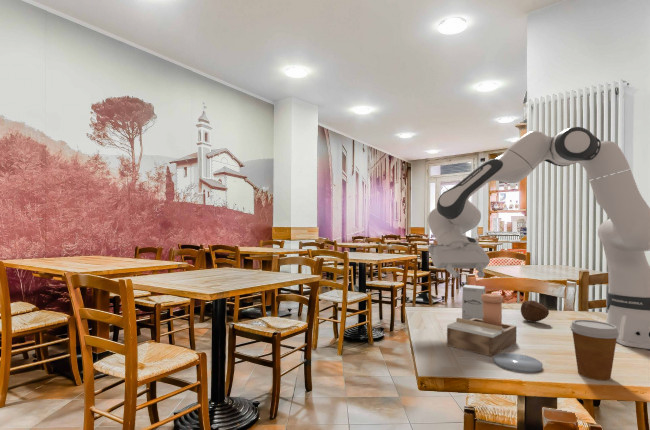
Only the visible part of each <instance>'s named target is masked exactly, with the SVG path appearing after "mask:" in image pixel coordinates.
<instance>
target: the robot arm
mask: <svg viewBox="0 0 650 430" xmlns="http://www.w3.org/2000/svg"><path fill="white" fill-rule="evenodd" d="M542 162H547V163H549V164H552V165H553V166H556V167H568V166H571V165H575V164H576V163H577V164H579V165H581V166H582V167H583V168H584V170H585V171H586V174H587V178H588V181H589V183H590V186H591V189H592V192H593V194H594V197H595V200H596V203H597V204H598V206H599V207H600V208H602V210H603V211H604V212H605V213H606V215H607V217H608V218H609V219H606V220H605V221H603V222H602V223H600V225H599V227H598V230H597V236H598V238H599V240H600V241H601V243H602V246H603V247H602V248H603V251H604V254H605V259H606V263H607V271H608V272H607V273H608V276H607V277H608V292H607V293H606V299H605V301H606V302H605V303H606V305H605V306H606V309H607V315H606V320H605V323H609V324H612V325H614V326H616V327H617V330H618V332H619V335H618V337H617V339H616V343H617V344H619V345H622V346H626V347H632V348H639V349H645V350H650V264H649V262H648V260H647V257H646V253H645V252H650V206H649V205H648V204H647V202H646V201H645V199H644V197H643V196H642V194H641V193H640V191H639V190H640V189H639V188H638V185H637V183H636V180H635V178H634V174H633V173H632V170H631V167H630V164H629V162H628V160H627V158H626V155H625V154H624V152H623V151H622V149H621V148H620V146H619V145H618V144H617V143H616V142H614V141H611V140H602V141H601V140H600V139H599V138H598V137H596V136H595V135H594V134H593V133H592V132H591V131H590V130H588V129H586V128H585V127H581V126H571V127H568V128H565V129H563V130H562V131H560V132H558V133H557V134H556V135H555V136H548V135H547V134H545V133H544V132H541V131H539V130H531V131H529V132H527V133H525V134H523V135H522V136H521V137H520V138H519V139H517V140H516V141H515V142H513V143H512V144H511V145H510V146H509V147H508V148H507V149H506V150H505V151H504V152H502V153H501V154H500V155H498V156H497V157H495V158H490V159H487V160H486V161H485V162H484V163H482V164H480V165H479V166H478V167H477V168H475V169H474V170H473V171H472V172H470V173H469V175H466V176H465V177H464V178H463V179H462V180H460V181H459V182H458V183H457V184H455V185H454V186H452V187H450V188H449V189H447V190H445V191H444V192H443V193H441V194H440V195H439V197H438V199H437V202H436V208H434V209H432V210H431V211H430V212H429V214H428V217H427V222H428V223H427V225H428V226H429V229H430V231H431V234H432V235H433V237H434V238H435V239H436V242H437V244H430V246H428V247H427V251H428V252H429V255H430V257H431V258H430V259H431V261H432V265H433V266H434V268H435V269H437V270H442V269H443V270H446V272H448V273H449V274H450V275H452V277H453V278H454V279H459V277H460V276H461V274H460V272H459V270H455V269H476V271H478V272H476V276H478V278H479V279H480V278H484V277H485V276H486V273H485V272H484V269H485V268H487V267H488V265H489V264H490V262H491V261H490V257H489V256H488V254H487V252H486V251H485V249H484V248H483V247H482V246H481V245H480V244H479V243H480V242H479V240H478V239H476V238H473V237H470V236H467V235H465V233H467V232H469V231H471V230H473V229H475V228H476V227H477V226H478V225H479V223H480V221H481V217H482V214H481V211H480V210H479V208H478V207H476V205H475V204H474V203H472V202H471V201H470V200H469V199H470V197H472V196H473V195H474V194H475V193H476V192H478V191H479V190H480V189H481V188H483V187H484V186H486V184H489V183H490V182H496V181H497V182H502V183H506V184H515V183H520V182H521V181H524V179H525V178H527V177H528V176H529V175H530V174H531V173H532V172H533V171H534V170H535V169H536V168H537V167H538V166H539V165H541V163H542Z"/></svg>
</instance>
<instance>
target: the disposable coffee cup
mask: <svg viewBox="0 0 650 430" xmlns="http://www.w3.org/2000/svg"><path fill="white" fill-rule="evenodd" d="M569 328H570V330H571V333H572V338H573V344H574V345H573V347H574V353H575V359H576V368H577V373H578V375H580V376H582V377H584V378H587V379H591V380H596V381H609V380H611V377H612V370H613V365H614V358H615V351H616V346H617V342H616V339H617V337H618V335H619V332H618V330H617V327H616V326H614V325H612V324H609V323H606V321H605V322H603V321H598V320H590V319H574V320H572V322H571V324H570V326H569Z"/></svg>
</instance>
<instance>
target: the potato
mask: <svg viewBox="0 0 650 430" xmlns="http://www.w3.org/2000/svg"><path fill="white" fill-rule="evenodd" d="M520 313H521V316H522V318H523V319H524V320H525V321H527V322H532V323H535V322H540V321H542V320H545V319H546V318H547V317H548V316H549V314H550V312H549V309H548V308H547V306H545V305H543V304H542V303H540V302H538V301H536V300H532V299H531V300H524V301H523V302H522V303H521V307H520Z"/></svg>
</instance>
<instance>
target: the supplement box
mask: <svg viewBox="0 0 650 430" xmlns="http://www.w3.org/2000/svg"><path fill="white" fill-rule="evenodd" d="M481 294H486V286H483V285H474V284H473V285H471V284H464V285H463V286H462V296H461V297H462V301H461V302H462V305H461V310H462V312H461V319H466V320H470V319H472V318H476V319H482V320H483V301H481Z"/></svg>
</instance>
